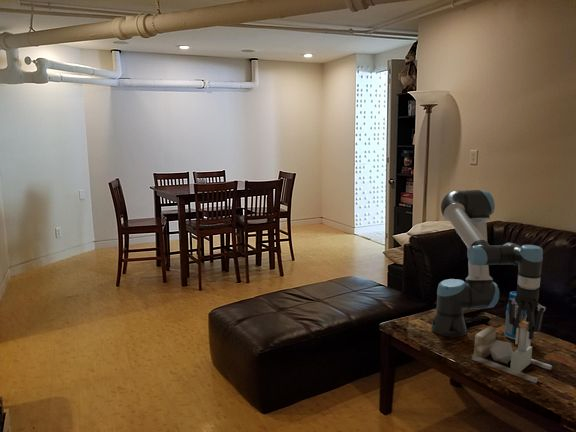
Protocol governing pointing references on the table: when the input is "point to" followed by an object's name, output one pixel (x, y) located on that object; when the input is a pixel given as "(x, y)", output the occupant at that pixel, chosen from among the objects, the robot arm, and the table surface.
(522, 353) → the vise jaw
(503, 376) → the table surface
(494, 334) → the vise bed
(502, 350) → the die
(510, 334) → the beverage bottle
